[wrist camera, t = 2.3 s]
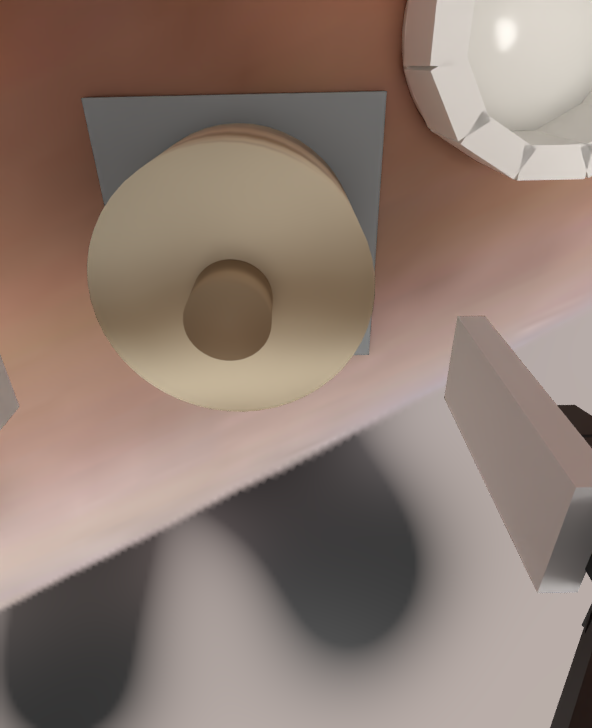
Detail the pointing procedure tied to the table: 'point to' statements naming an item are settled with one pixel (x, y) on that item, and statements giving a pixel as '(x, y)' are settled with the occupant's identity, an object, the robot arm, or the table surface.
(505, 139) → the bowl
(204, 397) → the beige round piece
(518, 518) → the robot arm
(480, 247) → the table surface
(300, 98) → the mat
